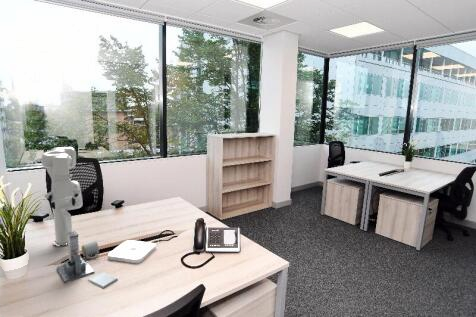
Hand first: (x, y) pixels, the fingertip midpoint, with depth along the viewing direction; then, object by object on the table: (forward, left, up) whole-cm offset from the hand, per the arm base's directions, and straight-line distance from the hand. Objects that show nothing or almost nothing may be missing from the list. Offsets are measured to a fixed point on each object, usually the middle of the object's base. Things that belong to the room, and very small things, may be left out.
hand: (63, 206), depth 158 cm
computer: (+17, +32, -33) cm, 49 cm away
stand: (+16, 0, -32) cm, 36 cm away
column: (+16, 0, -26) cm, 31 cm away
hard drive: (+35, +8, -33) cm, 49 cm away
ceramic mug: (+4, +12, -33) cm, 35 cm away
